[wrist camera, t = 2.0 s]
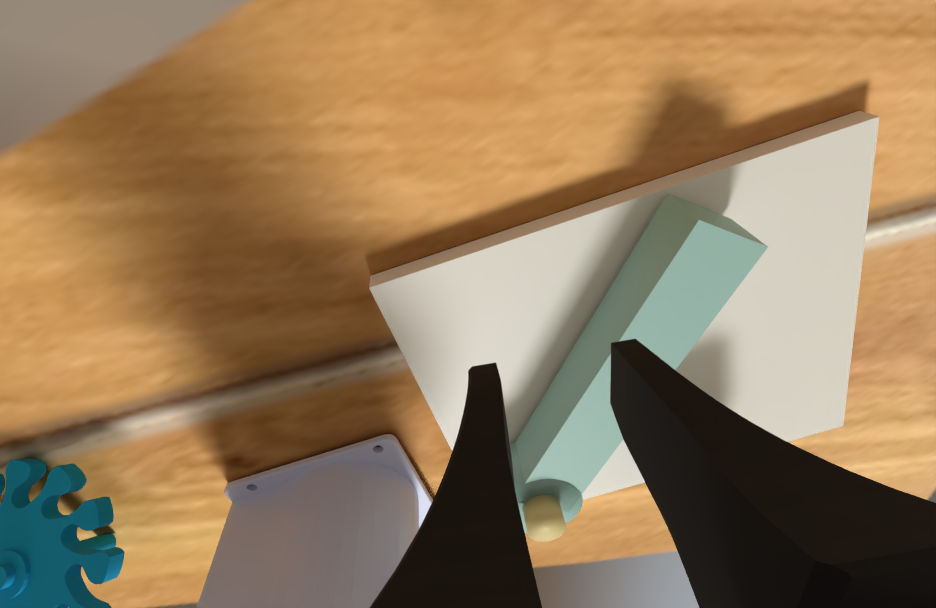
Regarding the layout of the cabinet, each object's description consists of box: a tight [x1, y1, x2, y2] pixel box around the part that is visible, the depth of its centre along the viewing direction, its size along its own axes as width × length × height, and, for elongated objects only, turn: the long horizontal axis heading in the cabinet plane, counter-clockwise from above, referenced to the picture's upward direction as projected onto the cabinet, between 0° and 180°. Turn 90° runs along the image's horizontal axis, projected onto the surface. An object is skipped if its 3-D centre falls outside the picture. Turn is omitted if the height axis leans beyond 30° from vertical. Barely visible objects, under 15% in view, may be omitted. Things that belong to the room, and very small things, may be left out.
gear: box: [0, 458, 124, 608], centre depth 26 cm, size 11×6×10 cm
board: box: [369, 111, 879, 500], centre depth 25 cm, size 20×17×1 cm
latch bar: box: [510, 194, 768, 542], centre depth 22 cm, size 17×4×4 cm, turn 158°
